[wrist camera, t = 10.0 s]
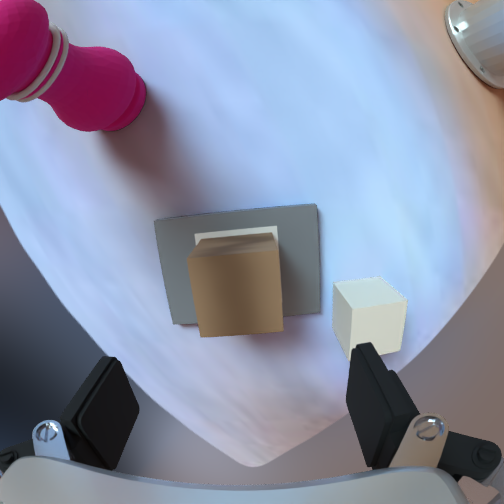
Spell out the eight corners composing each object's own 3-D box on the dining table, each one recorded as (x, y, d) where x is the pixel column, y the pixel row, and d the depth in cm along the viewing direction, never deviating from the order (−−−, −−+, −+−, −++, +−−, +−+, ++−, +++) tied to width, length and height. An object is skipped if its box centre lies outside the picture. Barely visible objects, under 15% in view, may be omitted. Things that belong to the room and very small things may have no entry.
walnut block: (271, 232, 25) (278, 250, 19) (276, 297, 26) (283, 331, 20) (201, 238, 25) (186, 258, 19) (210, 303, 26) (200, 337, 21)
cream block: (379, 276, 27) (407, 300, 21) (376, 320, 28) (400, 350, 22) (332, 281, 27) (352, 309, 21) (331, 327, 28) (348, 361, 23)
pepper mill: (99, 150, 24) (-88, 147, 4) (76, 94, 22) (-82, 48, 3) (163, 109, 23) (2, 10, 4) (135, 52, 21) (5, -58, 2)
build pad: (314, 203, 25) (316, 204, 24) (318, 307, 28) (320, 312, 27) (157, 219, 25) (153, 221, 24) (175, 319, 28) (173, 324, 27)
